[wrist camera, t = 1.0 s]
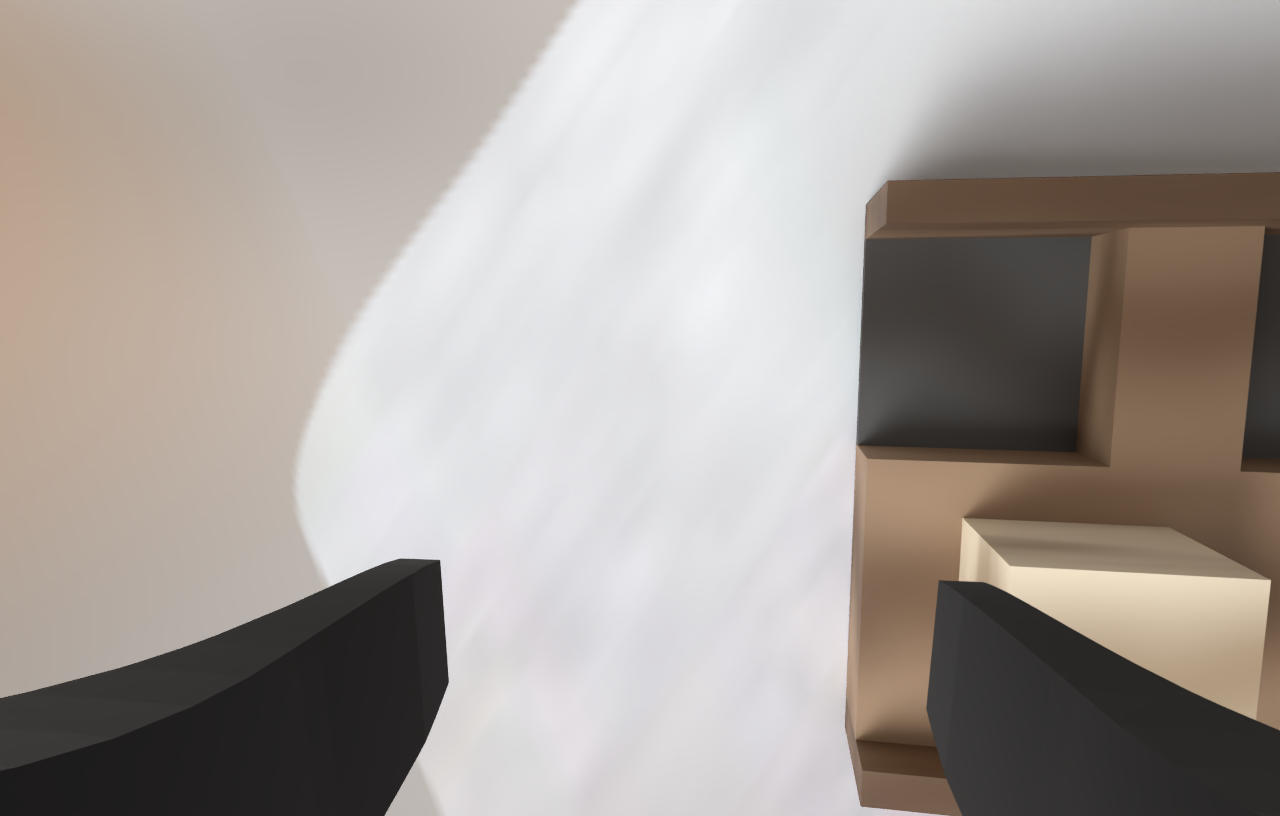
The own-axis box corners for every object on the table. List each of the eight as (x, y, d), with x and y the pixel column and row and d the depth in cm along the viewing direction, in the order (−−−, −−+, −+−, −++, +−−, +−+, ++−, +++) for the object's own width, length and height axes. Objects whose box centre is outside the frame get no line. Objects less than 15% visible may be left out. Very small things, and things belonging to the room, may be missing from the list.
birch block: (1152, 712, 20) (1246, 808, 16) (952, 696, 21) (995, 784, 17) (1169, 527, 19) (1271, 580, 16) (962, 518, 20) (1009, 565, 16)
